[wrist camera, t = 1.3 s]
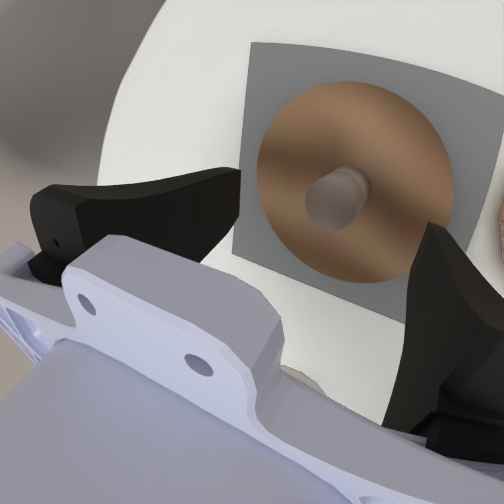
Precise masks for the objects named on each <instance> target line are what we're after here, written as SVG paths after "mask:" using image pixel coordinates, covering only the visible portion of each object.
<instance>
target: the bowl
mask: <svg viewBox="0 0 504 504" xmlns="http://www.w3.org/2000/svg"><path fill="white" fill-rule="evenodd" d="M499 225H500V235H501V247H502V257H503V260H504V201H503V204H502V206H501V209H500V212H499Z"/></svg>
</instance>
